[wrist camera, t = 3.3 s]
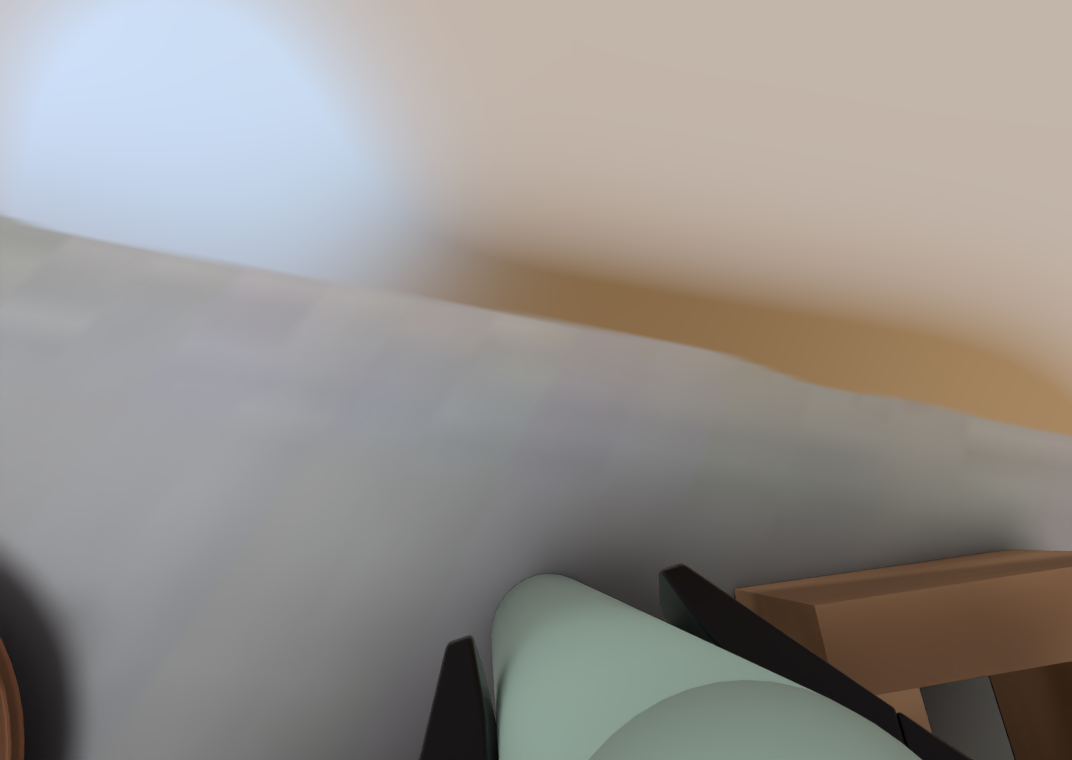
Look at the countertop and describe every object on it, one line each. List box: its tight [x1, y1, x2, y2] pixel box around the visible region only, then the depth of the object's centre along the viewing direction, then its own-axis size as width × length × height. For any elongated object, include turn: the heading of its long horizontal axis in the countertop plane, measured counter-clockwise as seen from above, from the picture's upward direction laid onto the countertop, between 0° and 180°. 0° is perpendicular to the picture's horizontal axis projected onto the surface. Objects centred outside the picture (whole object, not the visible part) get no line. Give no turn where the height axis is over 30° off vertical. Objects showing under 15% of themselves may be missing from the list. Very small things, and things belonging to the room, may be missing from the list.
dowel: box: [491, 574, 922, 760], centre depth 8 cm, size 3×3×14 cm
